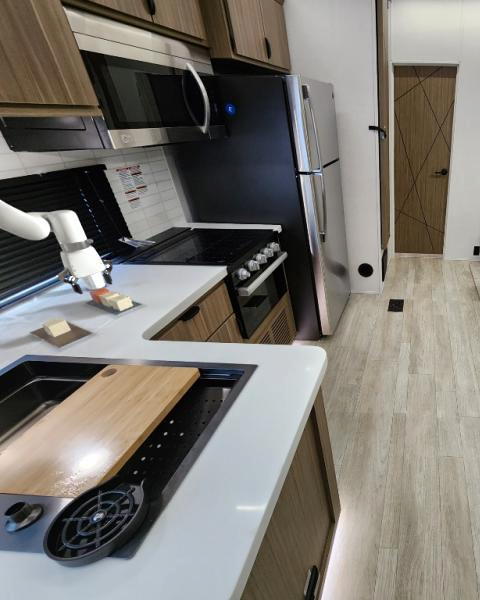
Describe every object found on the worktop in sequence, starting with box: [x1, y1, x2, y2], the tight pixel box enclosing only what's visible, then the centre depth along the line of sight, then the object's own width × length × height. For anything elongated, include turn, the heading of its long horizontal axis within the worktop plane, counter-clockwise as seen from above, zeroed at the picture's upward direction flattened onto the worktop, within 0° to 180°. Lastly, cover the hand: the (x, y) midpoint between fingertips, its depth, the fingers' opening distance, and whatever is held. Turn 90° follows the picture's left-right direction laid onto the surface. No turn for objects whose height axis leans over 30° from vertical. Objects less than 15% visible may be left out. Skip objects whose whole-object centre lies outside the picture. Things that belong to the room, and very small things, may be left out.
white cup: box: [80, 272, 106, 291], centre depth 140 cm, size 7×7×7 cm
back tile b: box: [99, 290, 121, 307], centre depth 126 cm, size 4×4×4 cm
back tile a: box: [109, 294, 133, 311], centre depth 124 cm, size 4×4×4 cm
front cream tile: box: [41, 317, 71, 337], centre depth 109 cm, size 4×4×4 cm
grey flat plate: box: [84, 299, 143, 316], centre depth 127 cm, size 22×9×1 cm, turn 64°
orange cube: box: [88, 287, 111, 303], centre depth 129 cm, size 4×4×4 cm
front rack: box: [29, 321, 94, 349], centre depth 110 cm, size 20×9×1 cm, turn 64°
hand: (95, 288), depth 127 cm, fingers open, 9 cm apart
